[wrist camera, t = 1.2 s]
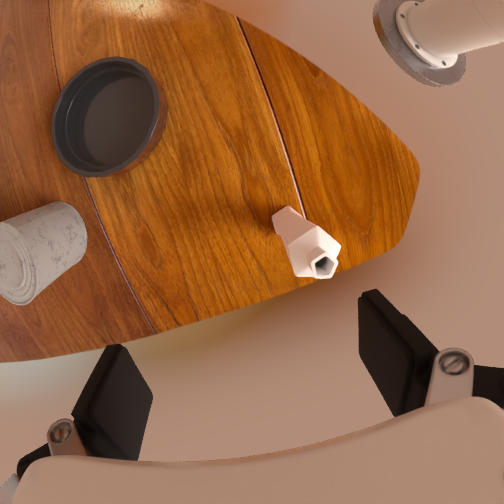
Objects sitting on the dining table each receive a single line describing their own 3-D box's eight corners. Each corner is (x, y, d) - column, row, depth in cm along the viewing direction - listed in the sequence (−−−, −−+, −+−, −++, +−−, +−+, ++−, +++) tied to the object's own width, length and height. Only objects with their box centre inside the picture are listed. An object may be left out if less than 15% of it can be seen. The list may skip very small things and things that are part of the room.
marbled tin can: (48, 189, 31) (-10, 206, 19) (96, 222, 33) (45, 252, 21) (31, 244, 33) (-20, 275, 21) (75, 278, 35) (31, 320, 23)
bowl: (114, 50, 26) (101, 39, 21) (192, 104, 29) (186, 96, 25) (53, 137, 28) (34, 136, 24) (121, 196, 32) (107, 202, 28)
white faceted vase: (275, 197, 34) (307, 227, 19) (308, 210, 34) (358, 246, 20) (262, 232, 35) (283, 284, 21) (294, 243, 36) (333, 299, 21)
